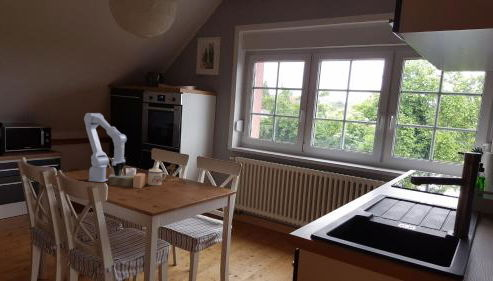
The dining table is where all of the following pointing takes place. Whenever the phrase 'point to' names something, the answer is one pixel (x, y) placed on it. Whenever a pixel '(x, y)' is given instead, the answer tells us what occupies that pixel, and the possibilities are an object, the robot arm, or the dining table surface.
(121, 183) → the guide channel
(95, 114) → the robot arm
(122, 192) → the dining table surface
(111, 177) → the slide bar
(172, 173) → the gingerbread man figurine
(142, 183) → the tan square block
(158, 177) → the teacup with lid
